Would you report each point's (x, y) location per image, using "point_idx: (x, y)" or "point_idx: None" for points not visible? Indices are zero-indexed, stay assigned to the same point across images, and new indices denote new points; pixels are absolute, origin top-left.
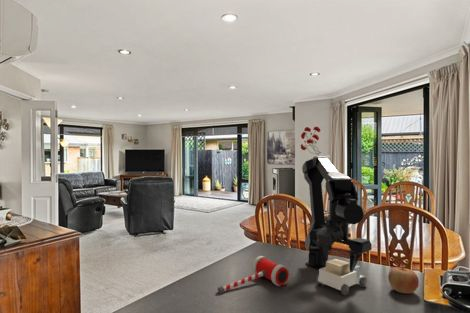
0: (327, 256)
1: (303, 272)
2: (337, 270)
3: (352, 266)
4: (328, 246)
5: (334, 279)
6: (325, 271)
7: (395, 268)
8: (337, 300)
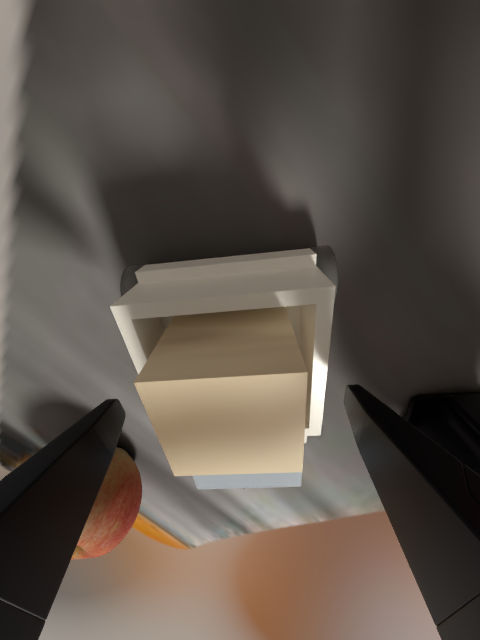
0: (366, 457)
1: (467, 313)
2: (177, 350)
3: (55, 440)
4: (436, 613)
5: (184, 286)
6: (266, 292)
7: (82, 545)
8: (114, 193)
